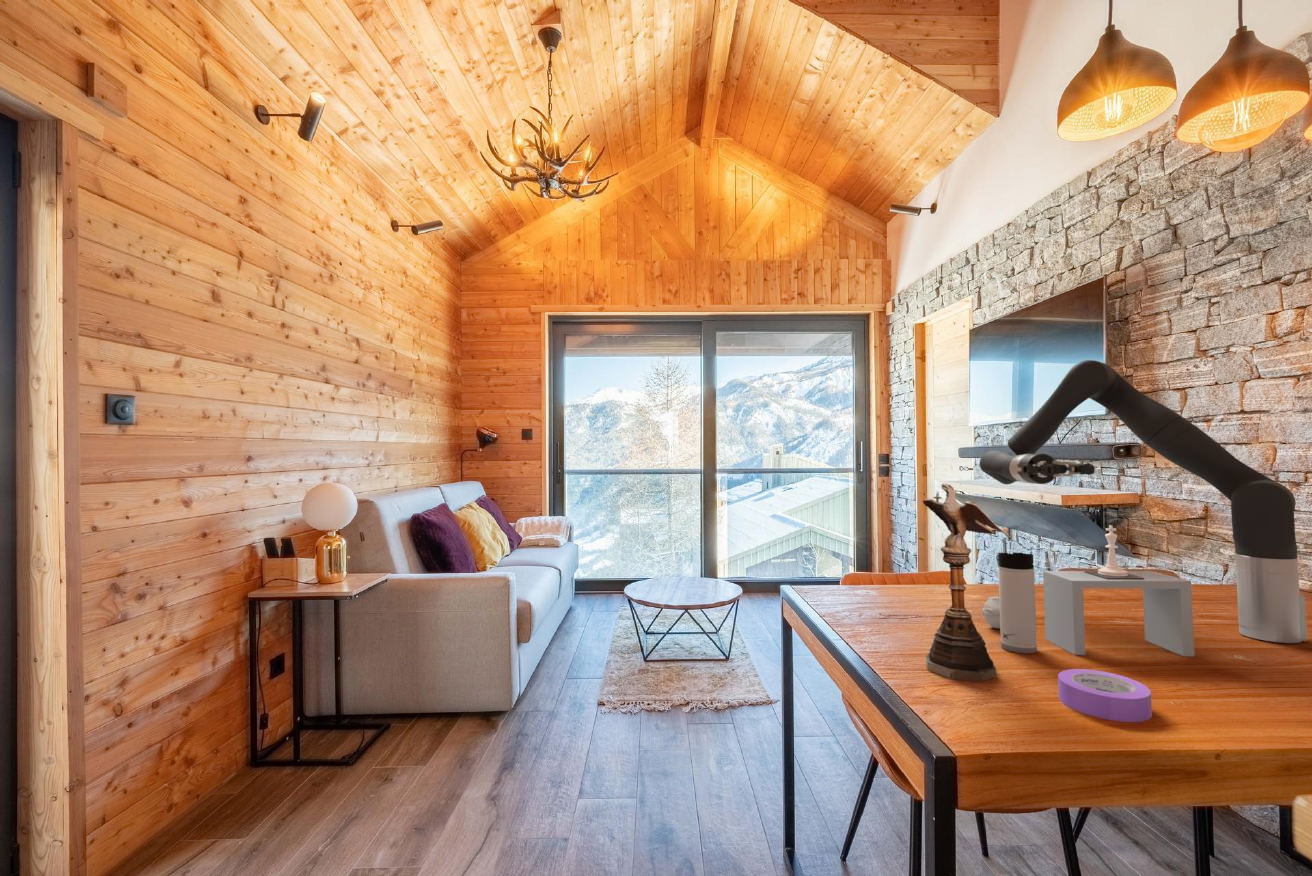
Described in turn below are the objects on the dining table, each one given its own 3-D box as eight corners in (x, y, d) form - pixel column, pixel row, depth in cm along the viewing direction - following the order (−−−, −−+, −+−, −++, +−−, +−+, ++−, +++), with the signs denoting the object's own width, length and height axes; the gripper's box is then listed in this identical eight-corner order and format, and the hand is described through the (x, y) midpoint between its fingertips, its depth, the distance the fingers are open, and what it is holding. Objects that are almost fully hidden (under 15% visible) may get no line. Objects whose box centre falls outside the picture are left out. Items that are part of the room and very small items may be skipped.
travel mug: (1004, 652, 117) (1000, 552, 118) (998, 642, 123) (995, 547, 124) (1040, 656, 115) (1037, 553, 116) (1033, 646, 121) (1029, 548, 122)
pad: (1119, 572, 123) (1119, 571, 123) (1144, 579, 116) (1144, 577, 116) (1084, 572, 124) (1084, 571, 124) (1106, 579, 117) (1106, 577, 117)
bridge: (1155, 640, 124) (1152, 571, 124) (1194, 656, 114) (1191, 581, 114) (1045, 639, 125) (1043, 571, 126) (1074, 654, 115) (1072, 580, 116)
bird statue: (961, 648, 120) (955, 478, 121) (1025, 668, 108) (1018, 479, 110) (904, 662, 113) (899, 480, 114) (967, 685, 101) (960, 482, 102)
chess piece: (1133, 576, 117) (1131, 526, 118) (1105, 576, 118) (1103, 526, 118) (1119, 572, 122) (1117, 524, 122) (1092, 571, 123) (1091, 523, 123)
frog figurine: (1013, 626, 135) (1012, 595, 135) (1012, 634, 129) (1011, 602, 129) (983, 622, 138) (982, 592, 139) (981, 630, 132) (980, 599, 133)
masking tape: (1171, 725, 86) (1170, 699, 86) (1083, 721, 87) (1082, 695, 88) (1121, 693, 97) (1120, 670, 97) (1044, 690, 99) (1044, 667, 99)
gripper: (1002, 454, 150) (1038, 453, 133) (1061, 453, 148) (1105, 452, 132) (1003, 483, 149) (1040, 486, 133) (1062, 482, 148) (1106, 486, 132)
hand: (1072, 469), depth 133 cm, fingers open, 8 cm apart
